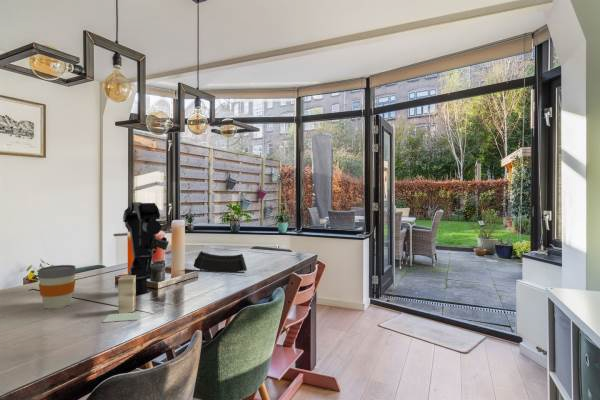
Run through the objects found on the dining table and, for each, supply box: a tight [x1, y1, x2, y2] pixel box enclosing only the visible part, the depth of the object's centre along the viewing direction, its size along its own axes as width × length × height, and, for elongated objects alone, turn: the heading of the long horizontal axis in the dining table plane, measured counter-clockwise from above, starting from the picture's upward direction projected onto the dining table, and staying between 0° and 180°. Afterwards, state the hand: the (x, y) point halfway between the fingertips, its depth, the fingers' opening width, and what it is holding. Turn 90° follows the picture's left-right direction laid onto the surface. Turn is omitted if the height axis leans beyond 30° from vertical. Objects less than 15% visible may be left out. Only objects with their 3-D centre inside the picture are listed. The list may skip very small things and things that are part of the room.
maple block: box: [117, 275, 137, 314], centre depth 134 cm, size 5×5×13 cm
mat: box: [102, 311, 142, 323], centre depth 127 cm, size 8×11×1 cm
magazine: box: [193, 250, 248, 273], centre depth 203 cm, size 18×3×31 cm
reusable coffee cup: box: [37, 264, 77, 309], centre depth 140 cm, size 13×13×15 cm
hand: (147, 269), depth 148 cm, fingers open, 9 cm apart
